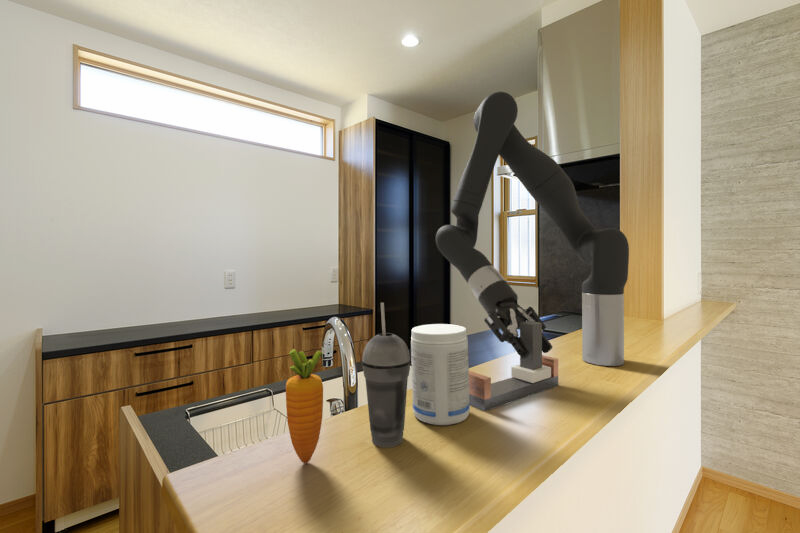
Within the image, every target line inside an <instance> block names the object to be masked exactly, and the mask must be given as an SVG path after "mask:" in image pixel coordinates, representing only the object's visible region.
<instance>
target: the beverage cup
mask: <svg viewBox="0 0 800 533" xmlns="http://www.w3.org/2000/svg"><path fill="white" fill-rule="evenodd" d="M380 313H381V314H380V315H381V330H382V331H381V332H382V333H381V332H380V333H378V334H376V335H375V336H372V337H371V339H370V340H369V341H368V342H367V343H366V344H365V347H364V349H363V352H362V360H361V361H360V362H361V365H362V372H363V376H364V378H365V380H364V381H365V387H366V388H365V390H366V397H367V398H366V399H367V408H368V409H367V410H368V418H369V419H368V420H369V428H370V429H369V430H370V435H371V442H372V444H373V445H374V446H376V447H380V448H384V449H386V448H394V447H397V446H399V445H401V444H402V443H403V439H404V438H403V437H404V431H405V423H406V422H405V421H406V420H405V418H406V405H407V391H408V380H409V375H410V370H411V364H412V363H411V353H410V351H409V347H408V346H407V344H406V342H405V341H404V340H403V339H402V338H401V337H400V336H398V335H396V334H394V333H391V332H386V318H385V316H386V314H385V302H380Z"/></svg>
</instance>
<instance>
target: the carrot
mask: <svg viewBox="0 0 800 533" xmlns="http://www.w3.org/2000/svg"><path fill="white" fill-rule="evenodd" d="M322 355H323V352H322V351H320V350H317V351H316V352H315V353H314V354H313V356H312V359H309V360H308V359H307V356H306V354H305V352H304V351H303V350H301V351H299V352H297V350H296V349H295V348H293V349H291V350H290V351H289V356H290V359H291V360H292V362H293V364H294V365H291V366H289V369H290V370H291V371H292V372H294V373H295V374H296V375H293V376H292V377H290V378H288V379H287V381H286V383H285V405H286V406H285V407H286V416H287V417H286V419H287V425H288V431H289V436H290V440H291V444H292V446H293V449H294V451H295V453H296V455H297V457H298V459H299V460H300V463H301V462H302V463H303V464H304V463H307V464H308V463H309V462H310V461H311V459H312V457H313V455H314V453H315V450H316V449H317V446H318V442H319V439H320V434H321V429H322V423H323V412H324V411H323V409H324V408H323V407H324V384H323V381H322V378H321V377H320V375H317V374H313V371H314V369H315V367H316V366H317V363H318V362H319V360H320V358H321V356H322Z"/></svg>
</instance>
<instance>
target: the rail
mask: <svg viewBox="0 0 800 533" xmlns="http://www.w3.org/2000/svg"><path fill="white" fill-rule="evenodd" d="M542 365H544V366H548V367H551V377H550V378H547V379H544V380H541V381H538V382H535V383H531V382H527V381H524V380H521V379H518V378H514V377H508V378H505V379H502V380H499V381H495V382H492V377H489V376H488V375H487V376H486V375H483V374H480V373H477V372H474V371H471V370H469V404H470V406H471V407H472V408H473V407H474V408H475V409H477V410H481V411H483V412H487V411H491V410H493V409H496V408H499V407H501V406H504V405H507V404H510V403H512V402H515V401H518V400H522V399H524V398H527V397H531V396H532V395H535V394H538V393H541V392H544V391H547V390H550V389H552V388H556V387H558V386H559V358H556V357H551V356H547V355H543V354H542Z"/></svg>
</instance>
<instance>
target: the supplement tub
mask: <svg viewBox="0 0 800 533" xmlns="http://www.w3.org/2000/svg"><path fill="white" fill-rule="evenodd" d="M467 333H468V332H467V328H466V327H465V326H461V325H458V324H450V323H449V324H448V323H431V324H430V323H429V324H421V325H418V326H414V327H412V329H411V337H410V339H411V340H410V359H411V363H410V364H411V386H412V388H411V390H412V391H411V392H412V394H411V395H412V413H413V415H414V416H415V418H417V419H418V420H419V421H420V422H423V423H425V424H430V425H433V426H450V425H454V424H459V423H461V422H463V421H465V420H466V419H467V418H468V417H469V414H470V410H471V409H470V406H471V405H470V404H469V371H470V370H469V369H470V368H469V340H468V334H467Z"/></svg>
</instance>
